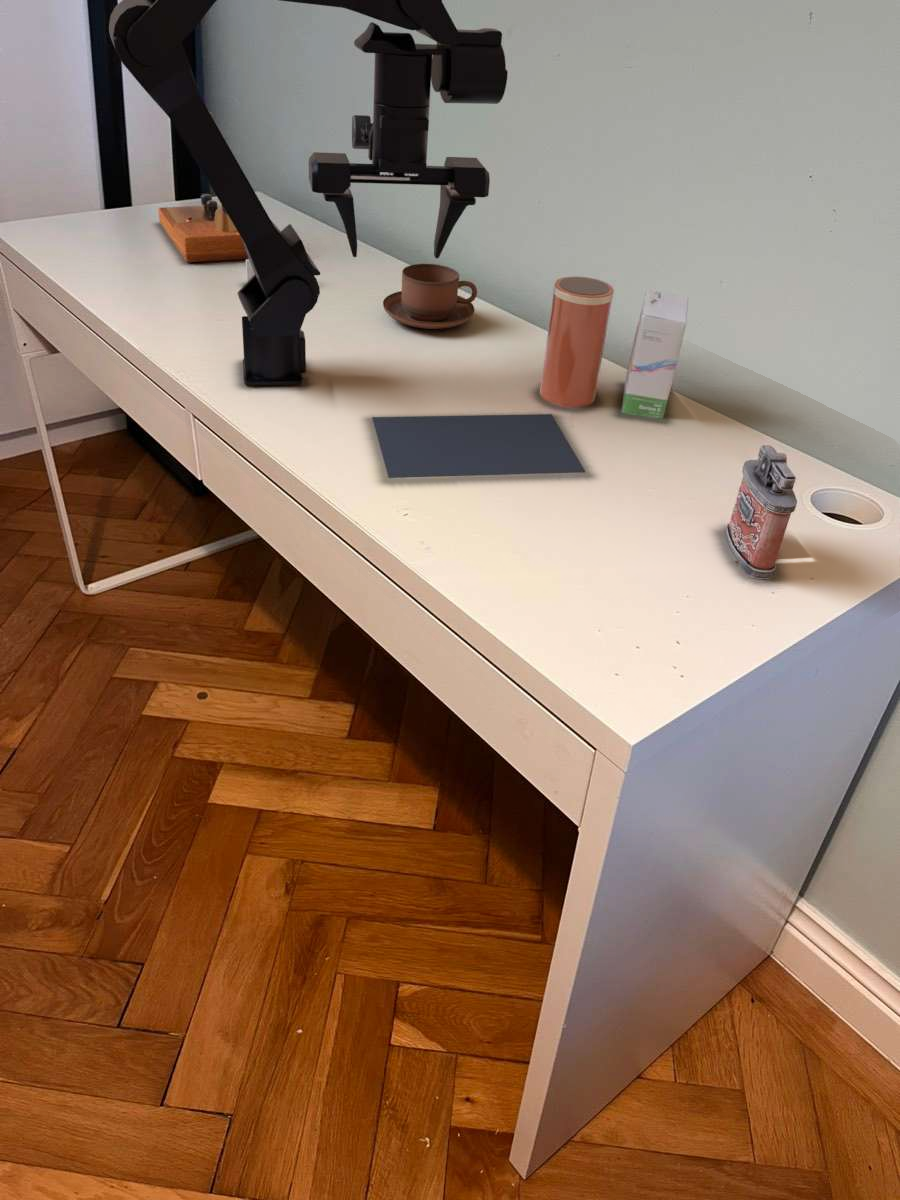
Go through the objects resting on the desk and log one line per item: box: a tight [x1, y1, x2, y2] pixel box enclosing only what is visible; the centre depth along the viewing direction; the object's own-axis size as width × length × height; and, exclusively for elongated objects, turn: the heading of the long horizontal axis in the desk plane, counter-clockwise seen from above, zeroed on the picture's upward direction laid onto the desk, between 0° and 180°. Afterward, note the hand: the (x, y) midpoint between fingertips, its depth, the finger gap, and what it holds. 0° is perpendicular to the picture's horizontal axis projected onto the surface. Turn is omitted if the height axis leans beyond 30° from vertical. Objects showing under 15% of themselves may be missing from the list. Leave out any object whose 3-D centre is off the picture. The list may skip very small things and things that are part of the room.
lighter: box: [724, 444, 798, 580], centre depth 87 cm, size 8×3×10 cm, turn 5°
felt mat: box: [371, 413, 586, 479], centre depth 103 cm, size 20×13×1 cm, turn 101°
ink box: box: [621, 290, 689, 419], centre depth 111 cm, size 9×5×12 cm, turn 168°
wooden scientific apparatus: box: [158, 111, 255, 283], centre depth 142 cm, size 14×30×18 cm, turn 24°
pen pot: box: [539, 276, 615, 408], centre depth 111 cm, size 6×6×13 cm
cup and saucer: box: [382, 263, 478, 330], centre depth 129 cm, size 12×12×6 cm
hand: (395, 256), depth 110 cm, fingers open, 9 cm apart
